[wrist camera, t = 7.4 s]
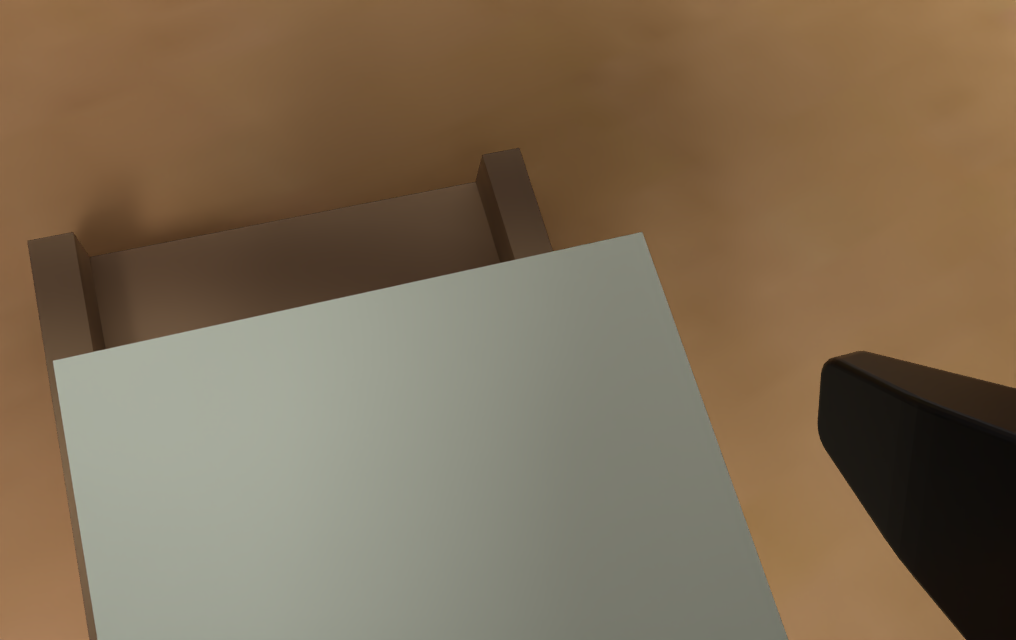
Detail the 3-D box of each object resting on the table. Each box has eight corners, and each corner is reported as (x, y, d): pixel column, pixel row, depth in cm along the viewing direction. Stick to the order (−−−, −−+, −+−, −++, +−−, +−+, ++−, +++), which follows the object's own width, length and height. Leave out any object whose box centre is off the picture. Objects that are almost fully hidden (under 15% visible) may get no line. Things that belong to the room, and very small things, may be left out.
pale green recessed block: (547, 674, 18) (808, 696, 7) (275, 762, 17) (144, 931, 6) (486, 461, 19) (640, 227, 9) (227, 530, 18) (52, 355, 7)
